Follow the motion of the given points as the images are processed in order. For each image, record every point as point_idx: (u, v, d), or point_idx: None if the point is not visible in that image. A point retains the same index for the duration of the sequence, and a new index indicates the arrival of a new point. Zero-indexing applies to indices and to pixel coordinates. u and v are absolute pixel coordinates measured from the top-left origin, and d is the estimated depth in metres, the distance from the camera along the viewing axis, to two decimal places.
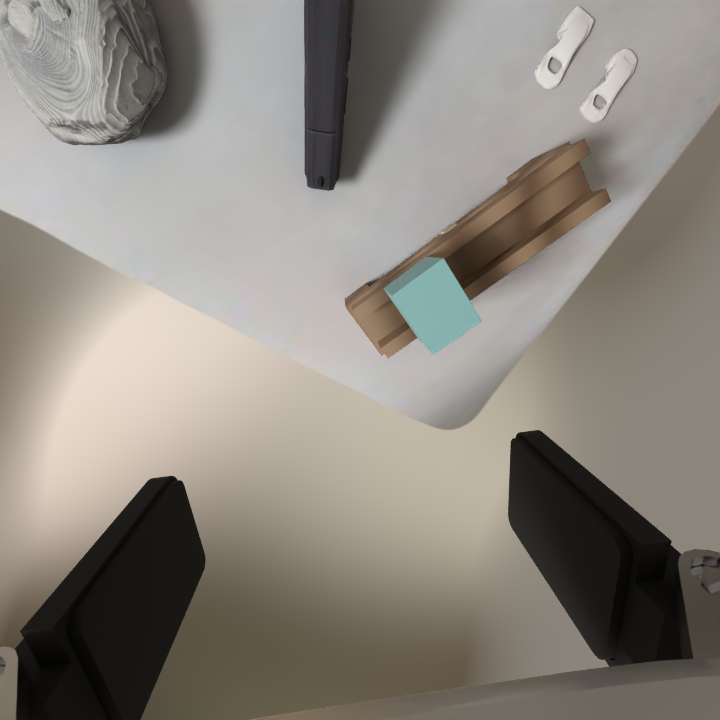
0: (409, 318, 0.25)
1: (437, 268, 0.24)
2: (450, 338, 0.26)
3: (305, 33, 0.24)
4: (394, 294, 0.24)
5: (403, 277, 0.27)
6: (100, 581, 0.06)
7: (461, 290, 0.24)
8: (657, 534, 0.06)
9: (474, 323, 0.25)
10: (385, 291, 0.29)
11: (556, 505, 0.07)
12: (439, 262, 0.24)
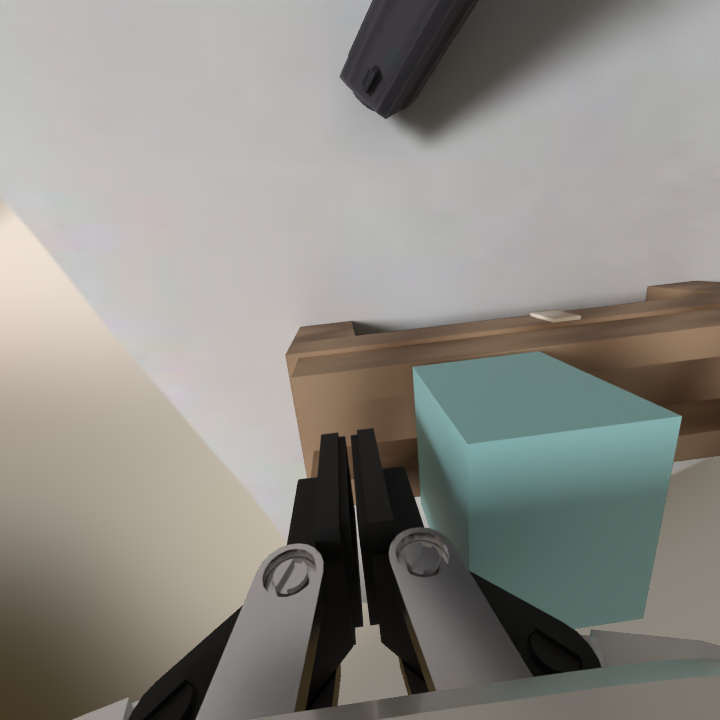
0: (472, 531, 0.07)
1: (643, 437, 0.07)
2: None
3: None
4: (475, 443, 0.07)
5: (483, 376, 0.10)
6: (344, 501, 0.07)
7: (657, 526, 0.08)
8: (387, 515, 0.07)
9: (622, 617, 0.08)
10: (413, 376, 0.11)
11: None
12: (663, 422, 0.07)
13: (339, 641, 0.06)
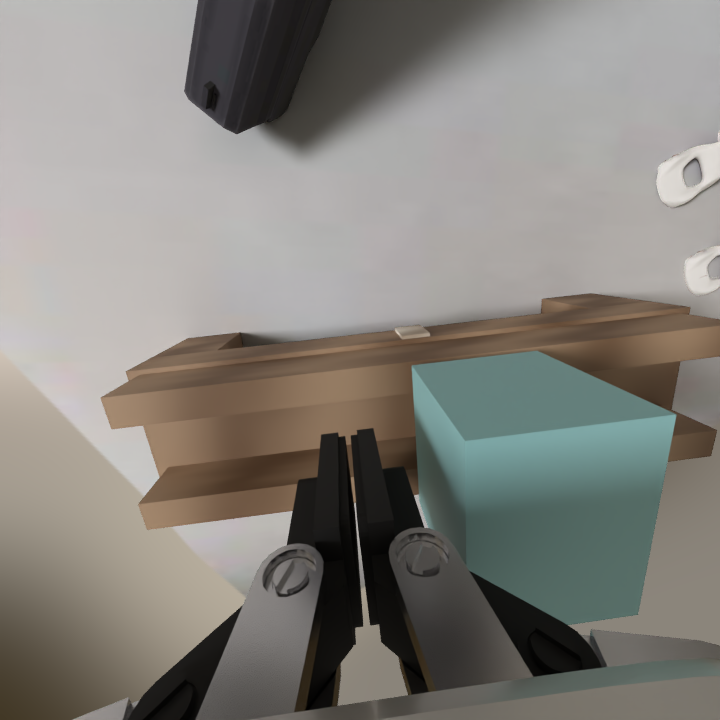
0: (470, 527, 0.07)
1: (639, 435, 0.07)
2: None
3: None
4: (473, 440, 0.07)
5: (481, 375, 0.10)
6: (344, 501, 0.07)
7: (651, 523, 0.08)
8: (387, 514, 0.07)
9: (616, 613, 0.08)
10: (412, 374, 0.12)
11: None
12: (658, 420, 0.07)
13: (339, 641, 0.06)
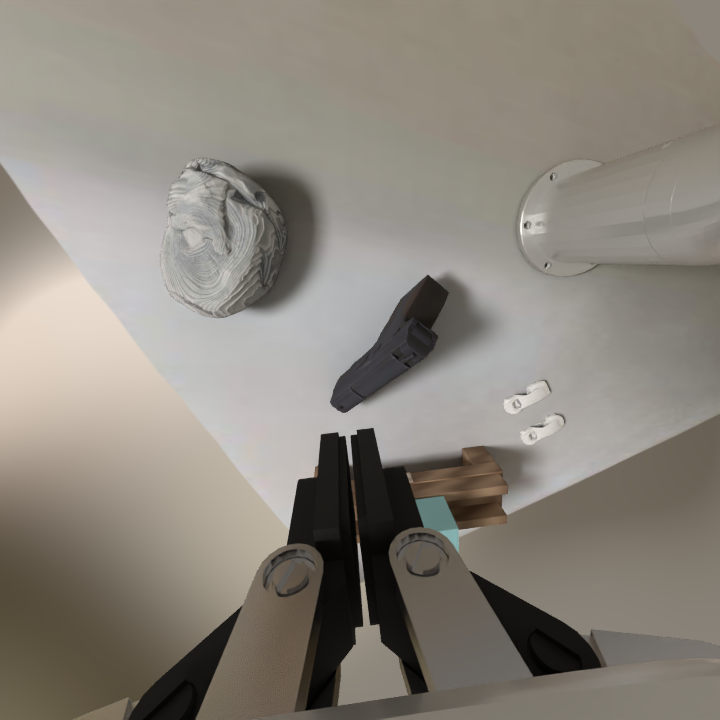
0: None
1: (451, 532, 0.35)
2: None
3: (378, 355, 0.35)
4: None
5: (424, 508, 0.38)
6: (344, 501, 0.07)
7: (457, 549, 0.36)
8: (387, 514, 0.07)
9: None
10: None
11: None
12: (454, 529, 0.35)
13: (339, 641, 0.06)
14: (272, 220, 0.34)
